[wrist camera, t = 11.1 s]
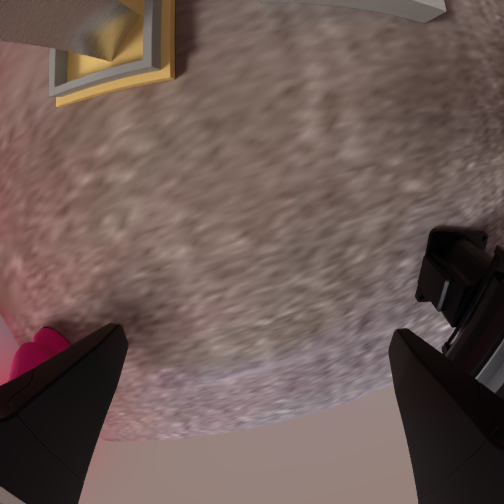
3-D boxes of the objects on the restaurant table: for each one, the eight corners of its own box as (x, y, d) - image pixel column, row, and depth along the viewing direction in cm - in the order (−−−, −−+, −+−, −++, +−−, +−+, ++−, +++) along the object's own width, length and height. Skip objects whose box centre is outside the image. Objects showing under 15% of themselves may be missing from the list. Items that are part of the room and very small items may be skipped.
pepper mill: (29, 332, 29) (-49, 437, 11) (49, 316, 27) (-46, 441, 9) (65, 371, 31) (0, 481, 13) (89, 361, 29) (16, 493, 11)
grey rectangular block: (141, 15, 14) (11, -53, 2) (111, 62, 15) (-41, 40, 4) (103, 3, 13) (-22, -45, 1) (76, 47, 15) (-63, 32, 3)
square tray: (176, -32, 13) (165, -47, 10) (175, 79, 17) (161, 74, 15) (68, 5, 14) (51, -2, 11) (63, 106, 18) (43, 107, 15)
